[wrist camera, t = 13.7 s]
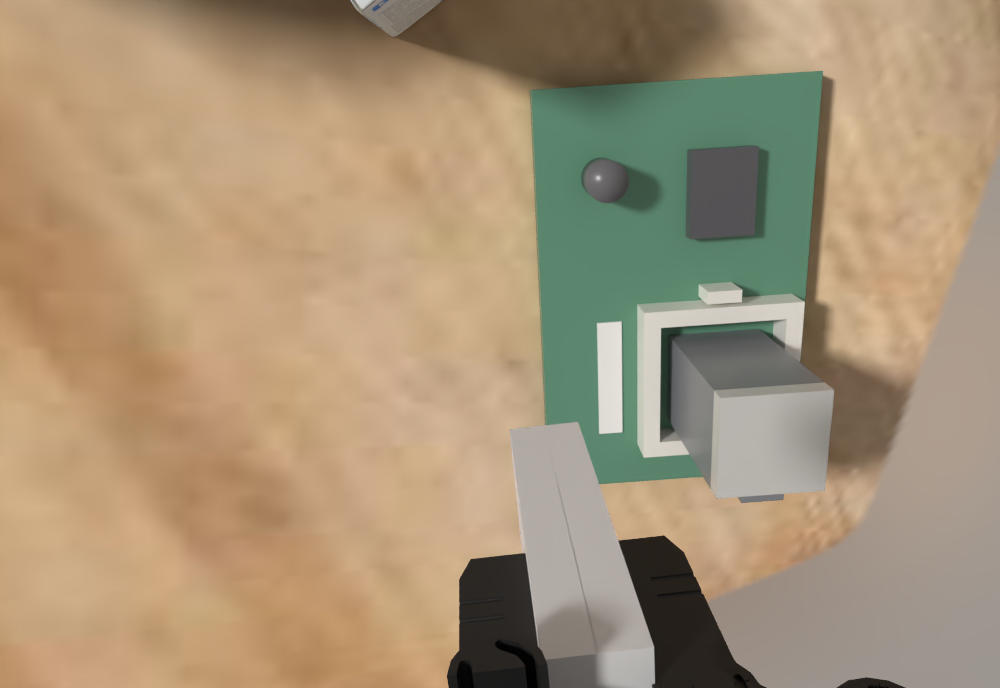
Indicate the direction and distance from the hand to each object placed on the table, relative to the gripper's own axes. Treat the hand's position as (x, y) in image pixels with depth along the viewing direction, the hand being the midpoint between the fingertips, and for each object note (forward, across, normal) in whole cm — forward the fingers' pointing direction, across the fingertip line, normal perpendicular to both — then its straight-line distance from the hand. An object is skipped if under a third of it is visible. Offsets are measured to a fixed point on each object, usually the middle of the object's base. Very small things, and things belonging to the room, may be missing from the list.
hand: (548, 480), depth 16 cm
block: (+19, +10, -7) cm, 23 cm away
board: (+21, +8, -3) cm, 22 cm away
